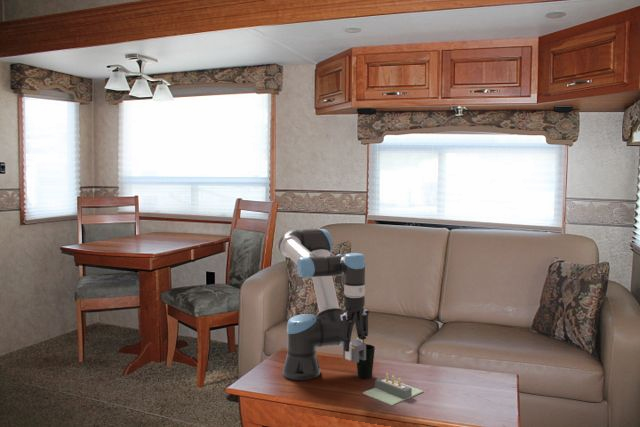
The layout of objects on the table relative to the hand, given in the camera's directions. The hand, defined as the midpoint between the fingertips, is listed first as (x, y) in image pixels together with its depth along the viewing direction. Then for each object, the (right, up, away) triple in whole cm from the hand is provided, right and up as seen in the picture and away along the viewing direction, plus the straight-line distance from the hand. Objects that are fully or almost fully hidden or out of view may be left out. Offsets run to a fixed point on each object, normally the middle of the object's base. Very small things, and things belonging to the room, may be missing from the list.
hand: (353, 357), depth 200 cm
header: (+14, -13, 0) cm, 19 cm away
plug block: (0, 0, 0) cm, 1 cm away
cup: (+5, -12, +16) cm, 20 cm away
